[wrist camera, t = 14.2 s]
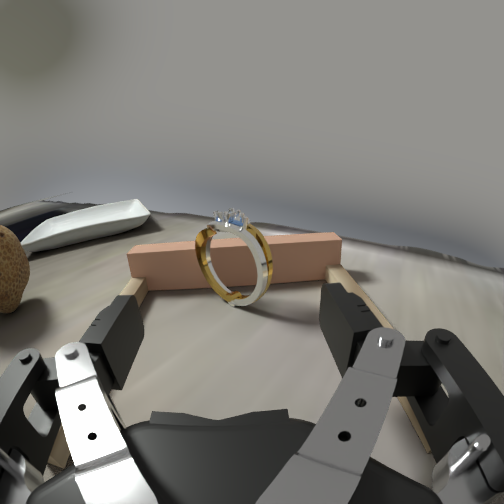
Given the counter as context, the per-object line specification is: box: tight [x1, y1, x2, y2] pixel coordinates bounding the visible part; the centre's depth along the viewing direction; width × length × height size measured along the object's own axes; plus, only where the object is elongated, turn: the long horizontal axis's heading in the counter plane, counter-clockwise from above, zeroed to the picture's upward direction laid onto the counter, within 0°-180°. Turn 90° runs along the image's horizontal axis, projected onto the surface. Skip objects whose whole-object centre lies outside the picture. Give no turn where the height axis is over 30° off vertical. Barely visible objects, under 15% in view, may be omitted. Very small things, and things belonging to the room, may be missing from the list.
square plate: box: [21, 199, 151, 252], centre depth 53 cm, size 27×27×4 cm
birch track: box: [48, 264, 431, 469], centre depth 17 cm, size 20×20×2 cm
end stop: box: [127, 232, 342, 291], centre depth 27 cm, size 20×2×4 cm, turn 93°
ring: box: [195, 208, 273, 307], centre depth 22 cm, size 7×3×8 cm, turn 49°
